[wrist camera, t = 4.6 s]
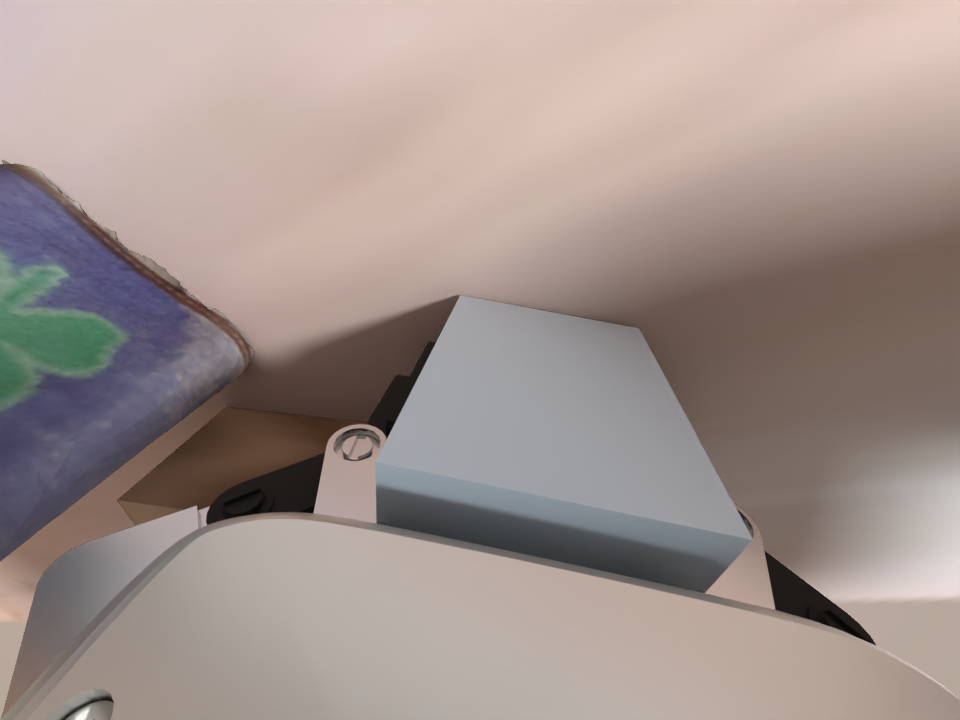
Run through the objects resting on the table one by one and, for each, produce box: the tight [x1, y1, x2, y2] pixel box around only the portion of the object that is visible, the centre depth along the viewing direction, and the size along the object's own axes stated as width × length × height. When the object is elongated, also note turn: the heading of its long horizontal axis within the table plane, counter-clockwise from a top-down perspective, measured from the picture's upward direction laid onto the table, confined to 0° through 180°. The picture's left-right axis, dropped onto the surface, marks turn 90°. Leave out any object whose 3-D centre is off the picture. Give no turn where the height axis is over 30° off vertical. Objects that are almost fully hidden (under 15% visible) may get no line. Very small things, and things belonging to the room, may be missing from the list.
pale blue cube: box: [376, 295, 753, 592], centre depth 10 cm, size 6×6×7 cm
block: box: [117, 407, 367, 526], centre depth 15 cm, size 9×9×5 cm
